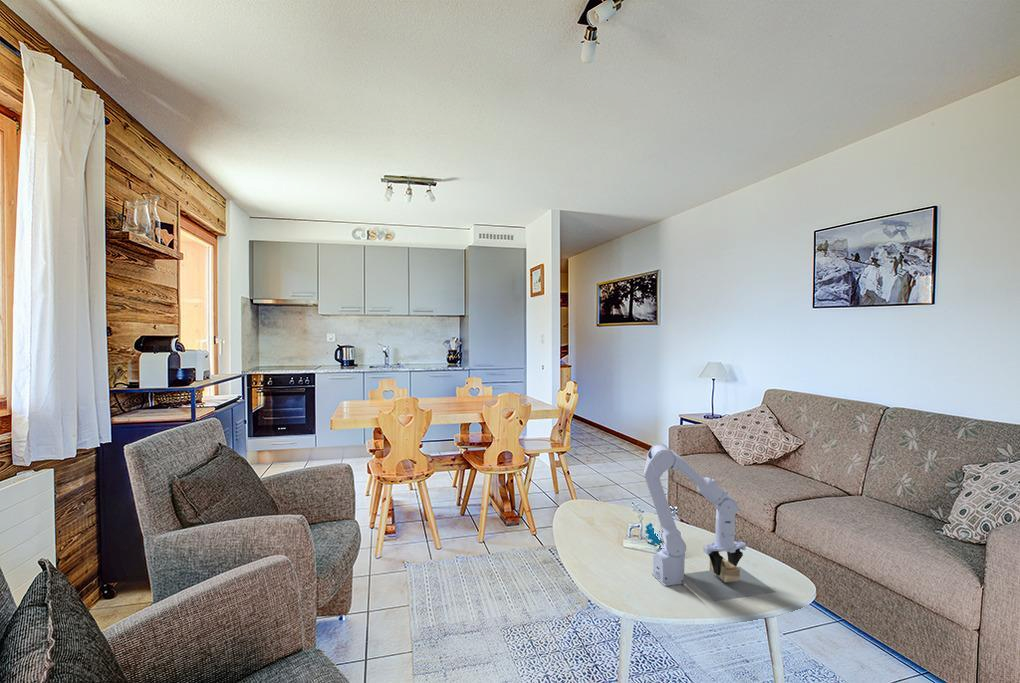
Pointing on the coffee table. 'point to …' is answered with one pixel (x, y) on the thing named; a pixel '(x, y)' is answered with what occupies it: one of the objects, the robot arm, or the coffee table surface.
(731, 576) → the open rectangular tan frame
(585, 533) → the coffee table surface
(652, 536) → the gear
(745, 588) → the board
